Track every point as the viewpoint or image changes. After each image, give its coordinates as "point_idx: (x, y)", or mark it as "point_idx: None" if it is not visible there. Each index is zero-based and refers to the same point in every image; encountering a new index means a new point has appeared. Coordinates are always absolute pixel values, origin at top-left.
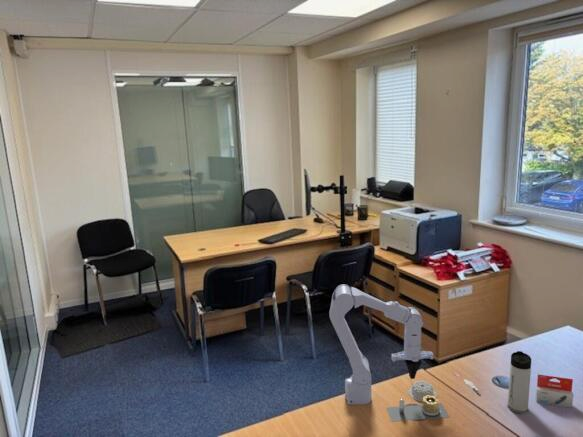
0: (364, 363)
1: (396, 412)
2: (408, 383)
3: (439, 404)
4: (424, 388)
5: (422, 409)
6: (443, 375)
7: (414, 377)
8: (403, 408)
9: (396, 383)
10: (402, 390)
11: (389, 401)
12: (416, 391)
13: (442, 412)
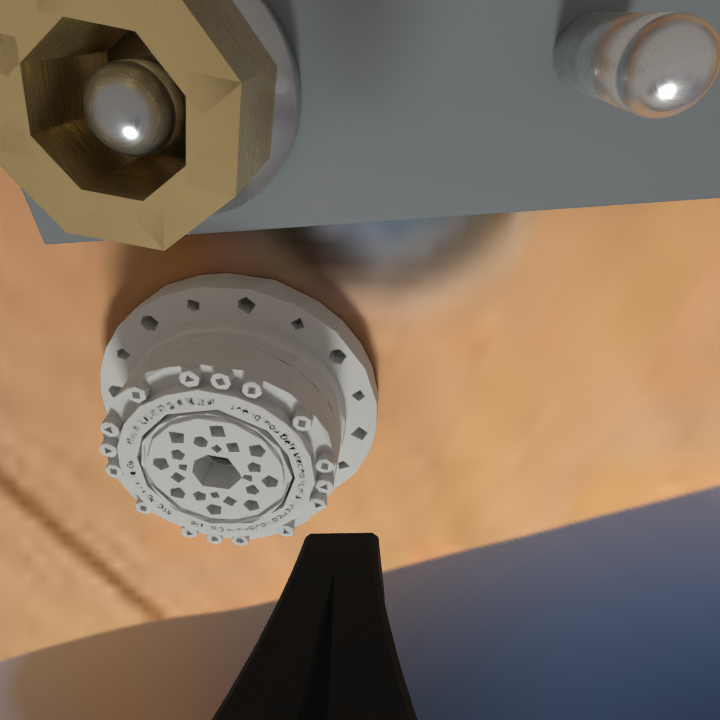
0: None
1: None
2: None
3: None
4: (198, 429)
5: (285, 78)
6: (56, 591)
7: (307, 555)
8: (607, 21)
9: (439, 546)
10: (414, 469)
11: (605, 332)
12: (302, 399)
13: None
